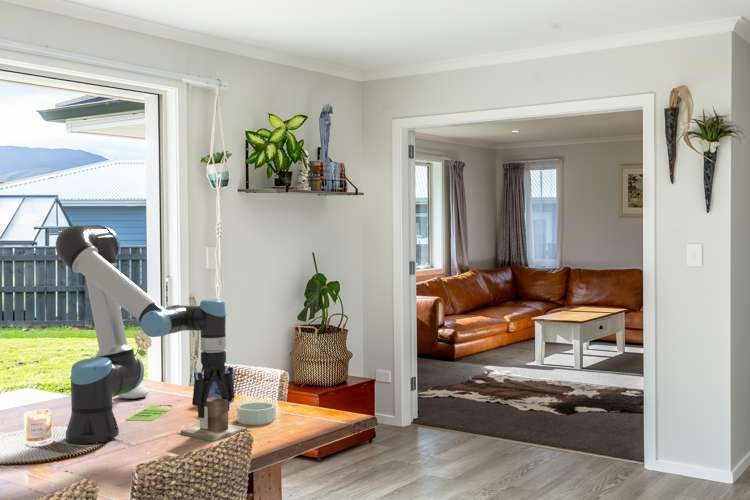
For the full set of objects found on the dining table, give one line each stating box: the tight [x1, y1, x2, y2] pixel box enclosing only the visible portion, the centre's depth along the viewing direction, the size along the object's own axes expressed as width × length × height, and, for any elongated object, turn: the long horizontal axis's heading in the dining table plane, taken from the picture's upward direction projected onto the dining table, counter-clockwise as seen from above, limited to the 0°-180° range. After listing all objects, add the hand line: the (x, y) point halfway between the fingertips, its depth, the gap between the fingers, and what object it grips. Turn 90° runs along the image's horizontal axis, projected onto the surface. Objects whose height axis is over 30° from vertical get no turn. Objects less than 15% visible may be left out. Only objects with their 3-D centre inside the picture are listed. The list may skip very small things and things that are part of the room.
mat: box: [177, 429, 251, 443], centre depth 250 cm, size 16×16×1 cm
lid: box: [180, 397, 248, 441], centre depth 250 cm, size 14×14×10 cm
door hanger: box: [125, 404, 171, 422], centre depth 282 cm, size 9×1×25 cm
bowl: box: [236, 401, 277, 426], centre depth 266 cm, size 12×12×5 cm
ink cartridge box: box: [207, 367, 235, 404], centre depth 297 cm, size 10×6×14 cm, turn 79°
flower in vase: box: [117, 329, 153, 400], centre depth 305 cm, size 13×11×25 cm
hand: (214, 425), depth 250 cm, fingers open, 8 cm apart
